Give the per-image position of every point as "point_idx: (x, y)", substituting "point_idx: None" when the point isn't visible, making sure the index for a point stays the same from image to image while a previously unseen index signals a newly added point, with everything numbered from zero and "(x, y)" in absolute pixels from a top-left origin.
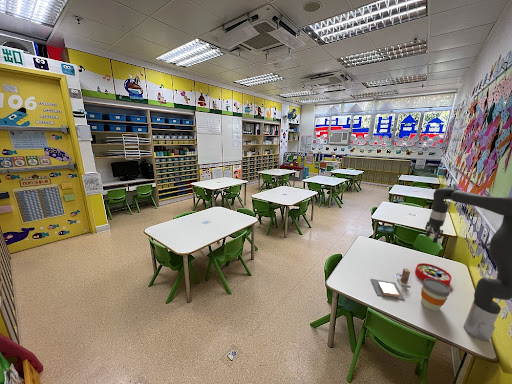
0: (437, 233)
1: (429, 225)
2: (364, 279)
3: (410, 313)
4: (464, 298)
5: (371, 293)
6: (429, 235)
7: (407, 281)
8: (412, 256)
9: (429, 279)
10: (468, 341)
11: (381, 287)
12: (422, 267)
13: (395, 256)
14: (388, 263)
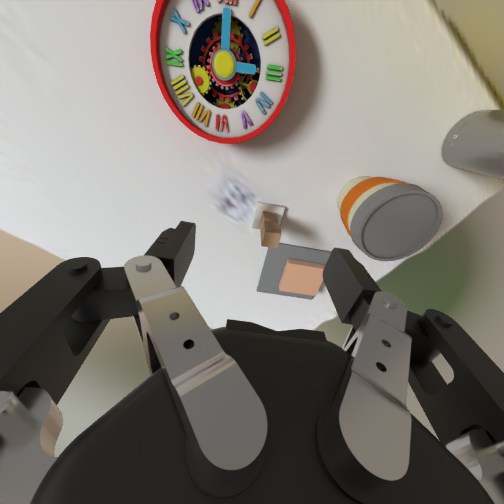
0: (449, 431)
1: (38, 381)
2: (258, 301)
3: (369, 262)
4: (358, 12)
5: (304, 305)
6: (190, 237)
7: (277, 217)
8: (41, 30)
9: (361, 227)
10: (473, 188)
11: (299, 293)
12: (188, 95)
13: (90, 143)
14: (162, 205)
